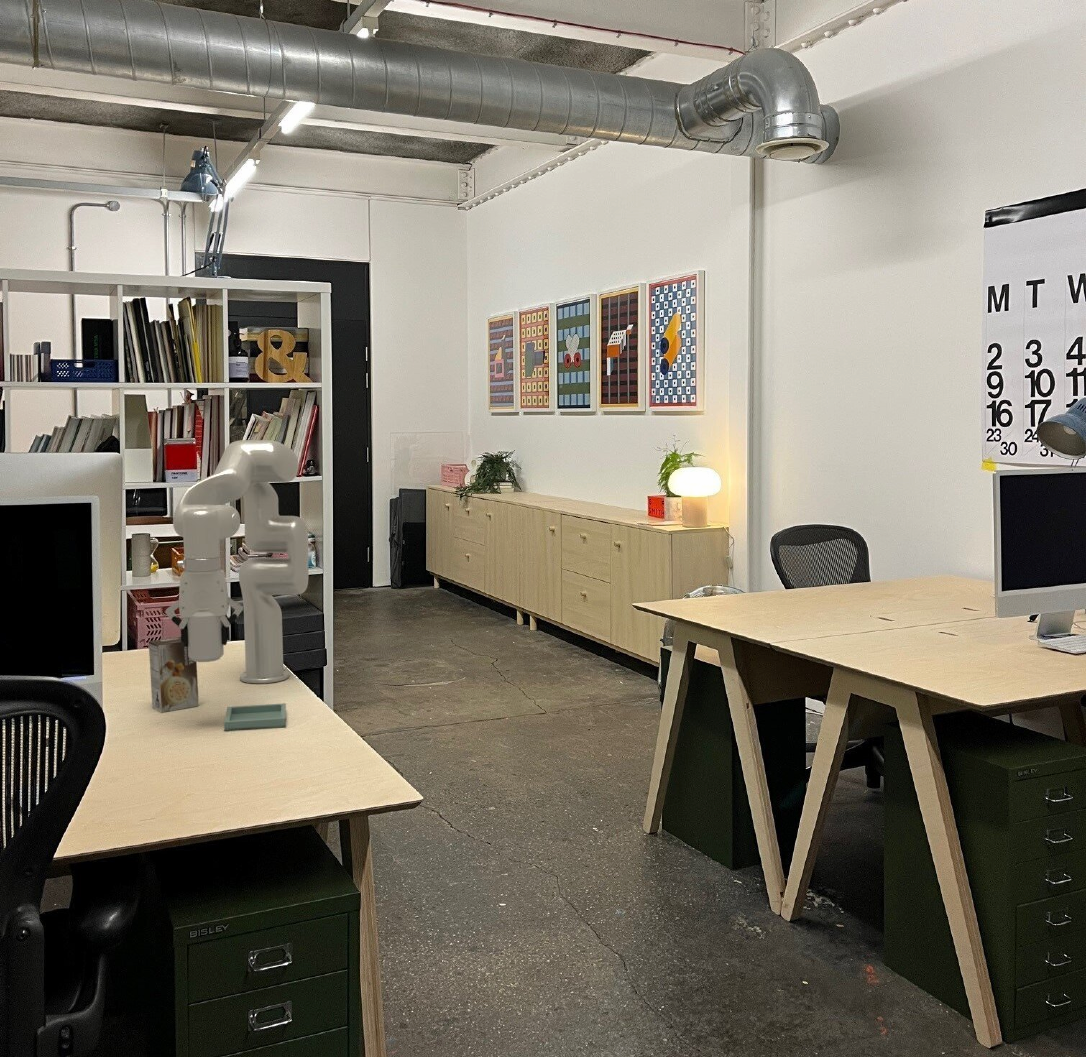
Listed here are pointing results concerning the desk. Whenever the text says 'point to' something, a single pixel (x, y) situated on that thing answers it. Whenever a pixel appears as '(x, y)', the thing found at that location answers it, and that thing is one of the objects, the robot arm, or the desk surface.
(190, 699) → the coffee box
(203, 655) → the can
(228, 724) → the tray
